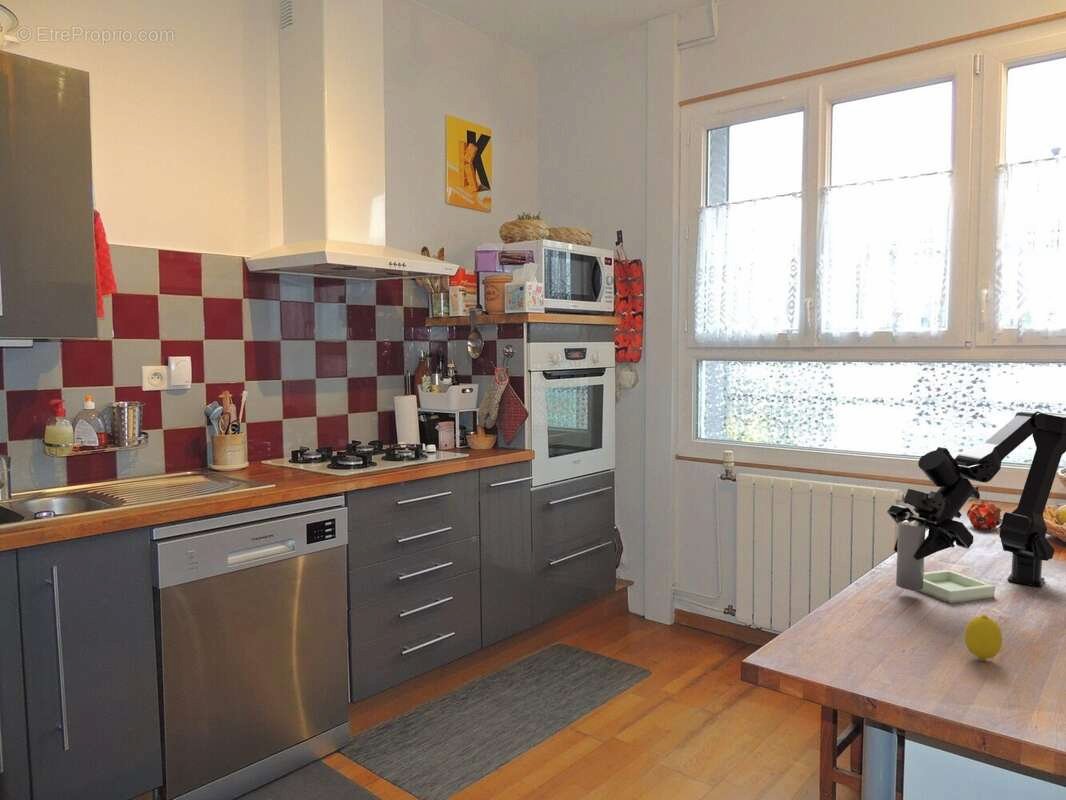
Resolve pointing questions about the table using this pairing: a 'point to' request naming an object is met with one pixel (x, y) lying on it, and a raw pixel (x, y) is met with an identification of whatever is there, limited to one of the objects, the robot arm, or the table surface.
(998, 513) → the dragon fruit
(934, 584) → the sage dish
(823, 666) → the table surface
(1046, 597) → the table surface
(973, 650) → the lemon
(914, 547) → the grey can
